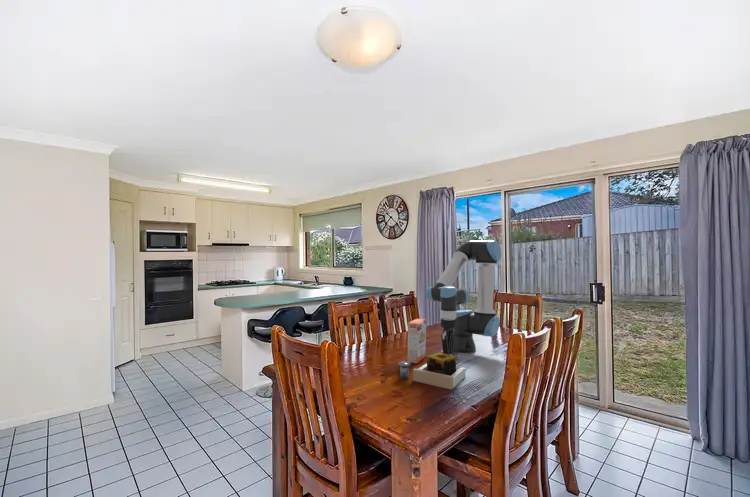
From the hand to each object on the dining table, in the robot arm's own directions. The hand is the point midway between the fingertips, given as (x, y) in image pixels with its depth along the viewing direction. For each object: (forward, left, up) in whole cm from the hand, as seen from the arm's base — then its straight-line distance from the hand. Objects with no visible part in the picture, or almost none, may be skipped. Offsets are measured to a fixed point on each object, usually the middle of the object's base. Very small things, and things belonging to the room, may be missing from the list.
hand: (448, 367), depth 168 cm
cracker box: (-8, -21, -2) cm, 23 cm away
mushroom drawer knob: (+19, -14, -2) cm, 23 cm away
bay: (+10, 0, -2) cm, 10 cm away
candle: (+9, 0, -2) cm, 10 cm away
